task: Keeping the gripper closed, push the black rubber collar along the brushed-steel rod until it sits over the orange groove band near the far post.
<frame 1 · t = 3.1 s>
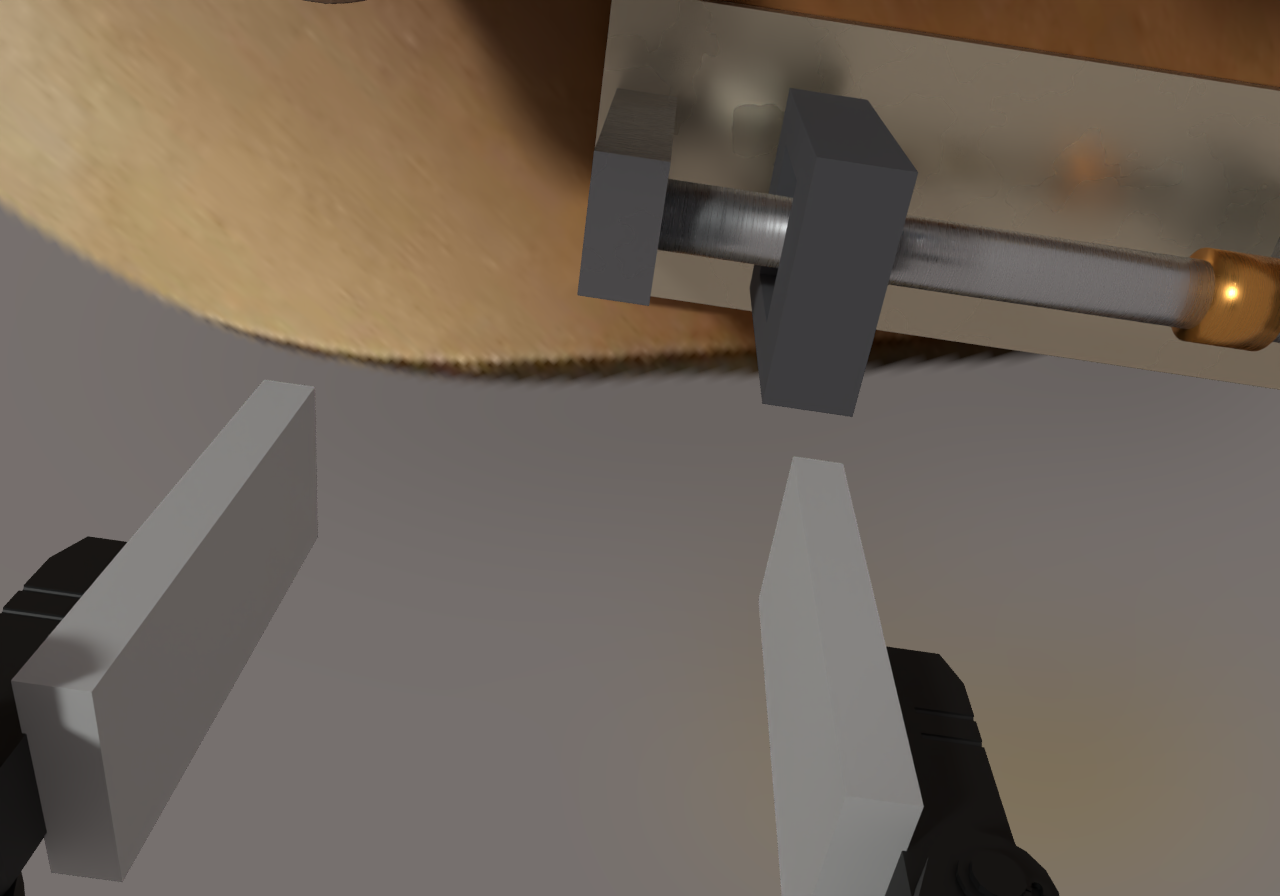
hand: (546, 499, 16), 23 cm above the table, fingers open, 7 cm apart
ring: (818, 240, 30), point 8 cm above the table, slide at 0.0 cm
rail: (966, 195, 37), on the table
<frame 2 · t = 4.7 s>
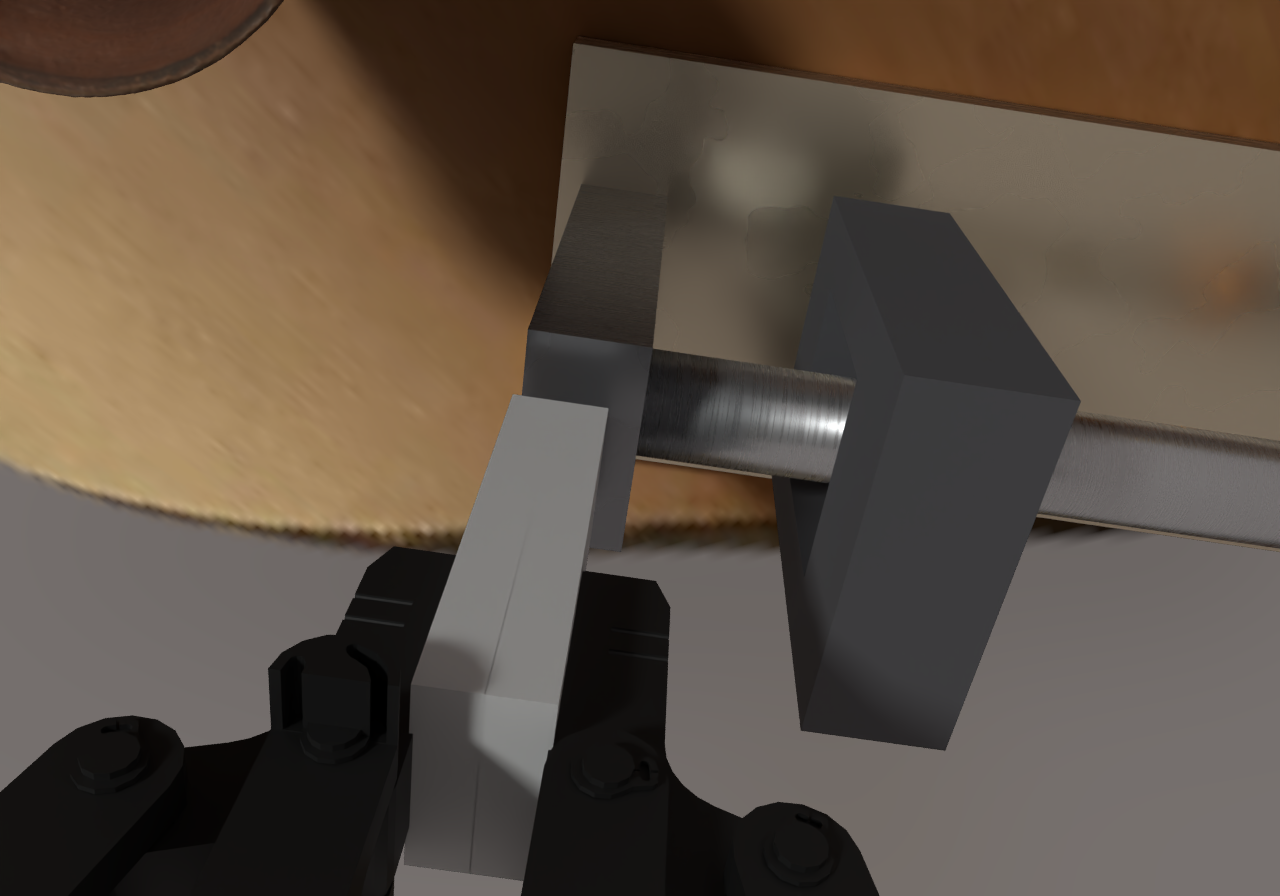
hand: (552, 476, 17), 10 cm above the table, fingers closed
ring: (883, 443, 19), point 8 cm above the table, slide at 0.0 cm
rail: (1073, 326, 26), on the table
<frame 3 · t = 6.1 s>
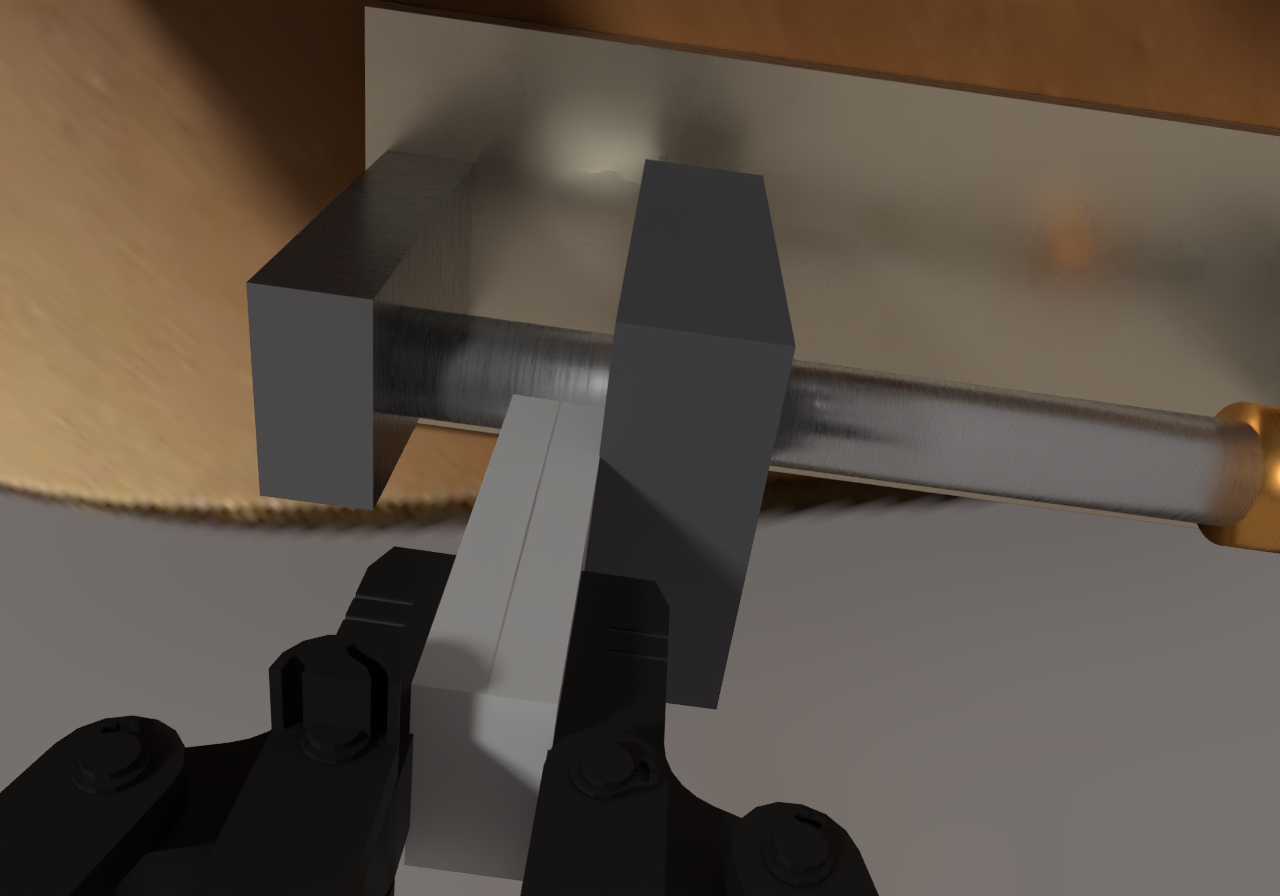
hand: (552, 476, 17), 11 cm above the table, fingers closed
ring: (677, 404, 19), point 8 cm above the table, slide at 0.6 cm, touching gripper
rail: (899, 291, 26), on the table
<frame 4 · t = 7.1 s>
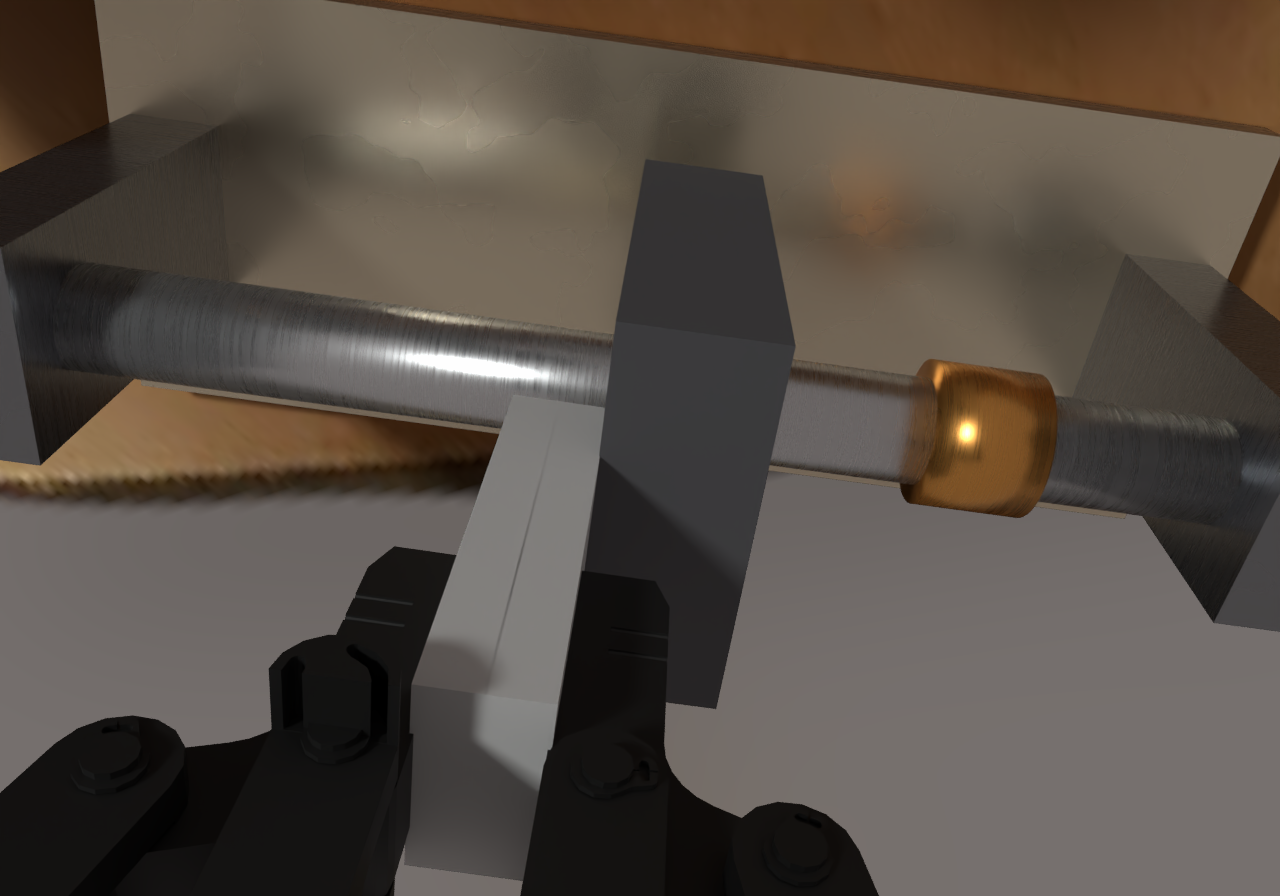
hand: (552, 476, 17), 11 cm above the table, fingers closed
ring: (676, 404, 19), point 8 cm above the table, slide at 6.5 cm, touching gripper
rail: (664, 258, 26), on the table
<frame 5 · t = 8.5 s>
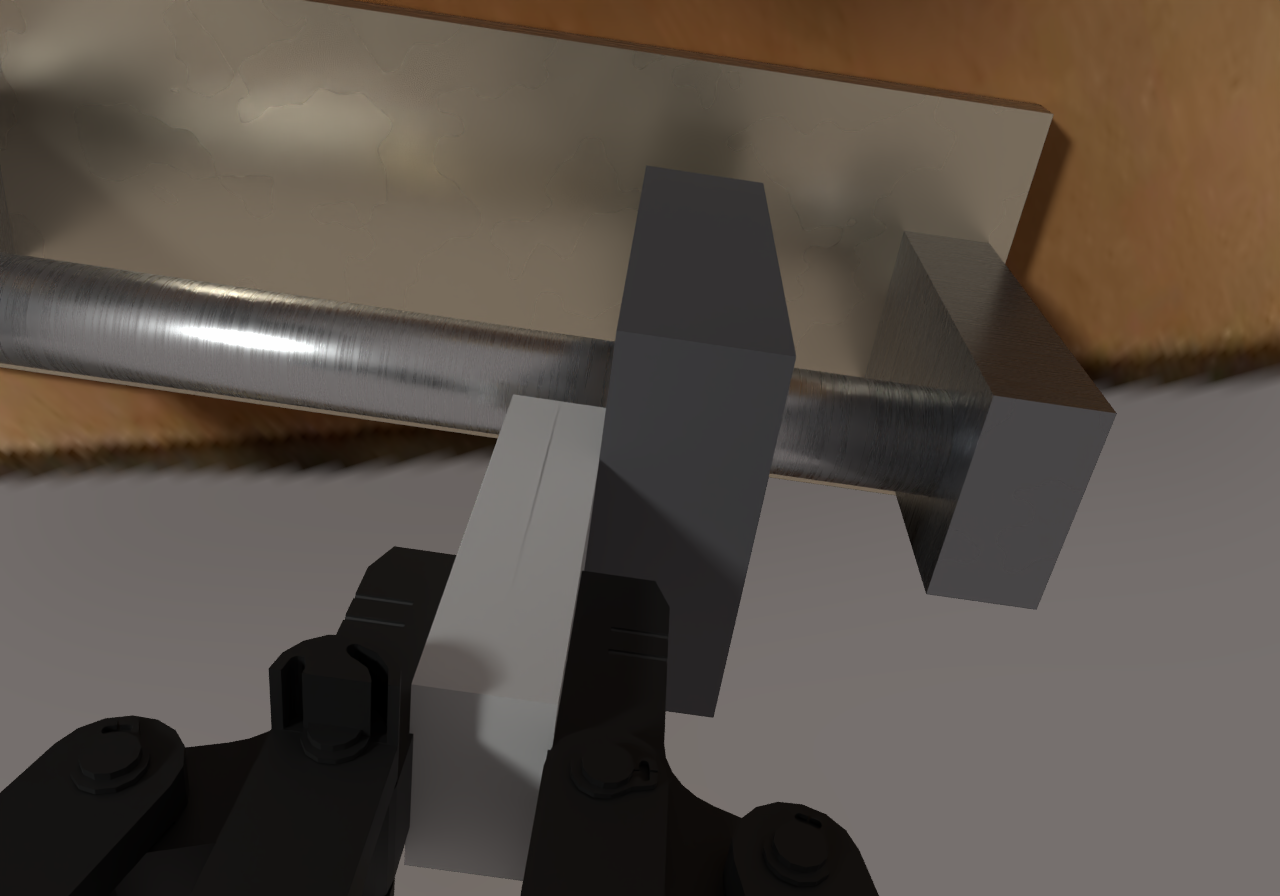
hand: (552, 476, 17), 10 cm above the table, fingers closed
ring: (676, 411, 19), point 8 cm above the table, slide at 11.6 cm, touching gripper
rail: (455, 233, 26), on the table
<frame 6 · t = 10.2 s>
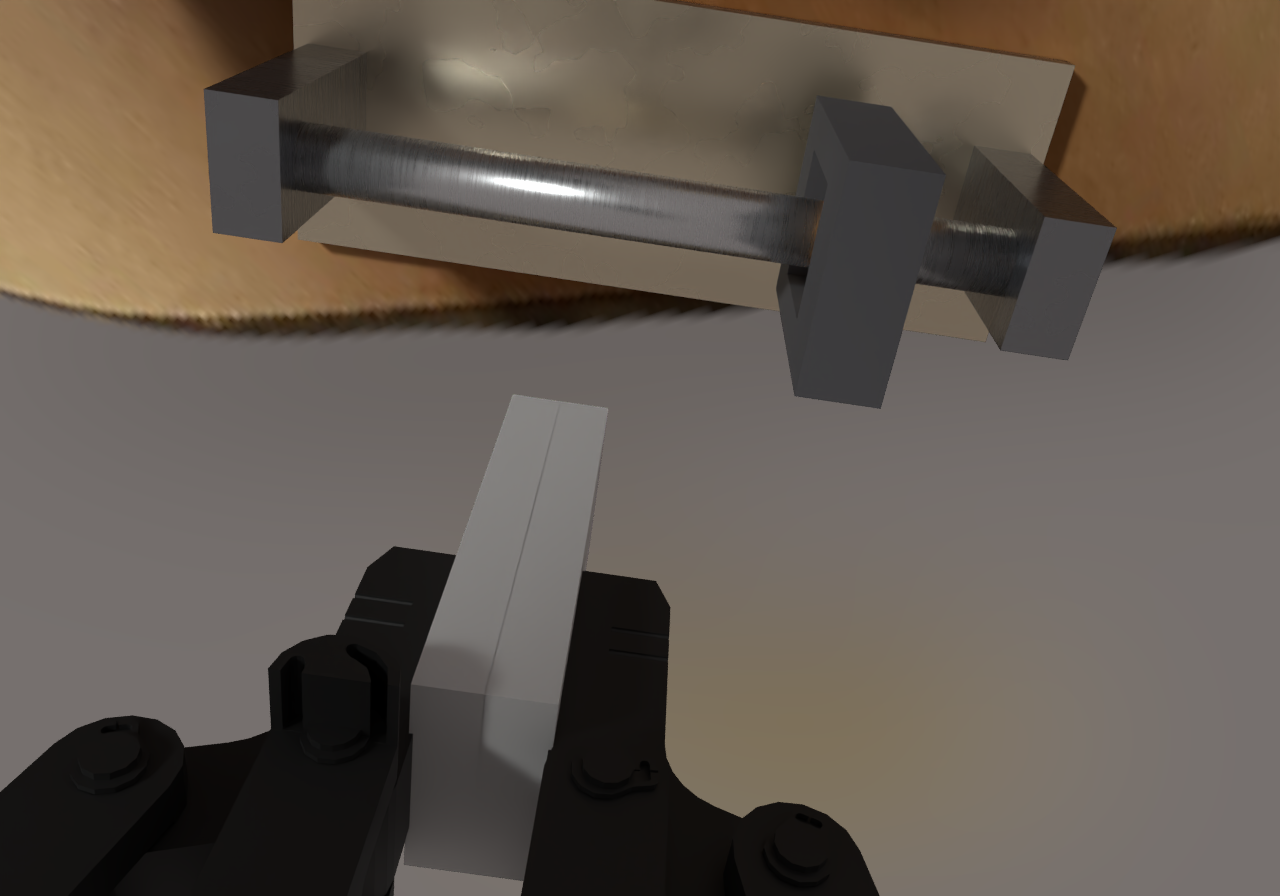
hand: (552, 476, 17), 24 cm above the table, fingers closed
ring: (846, 241, 31), point 8 cm above the table, slide at 11.7 cm
rail: (664, 150, 38), on the table
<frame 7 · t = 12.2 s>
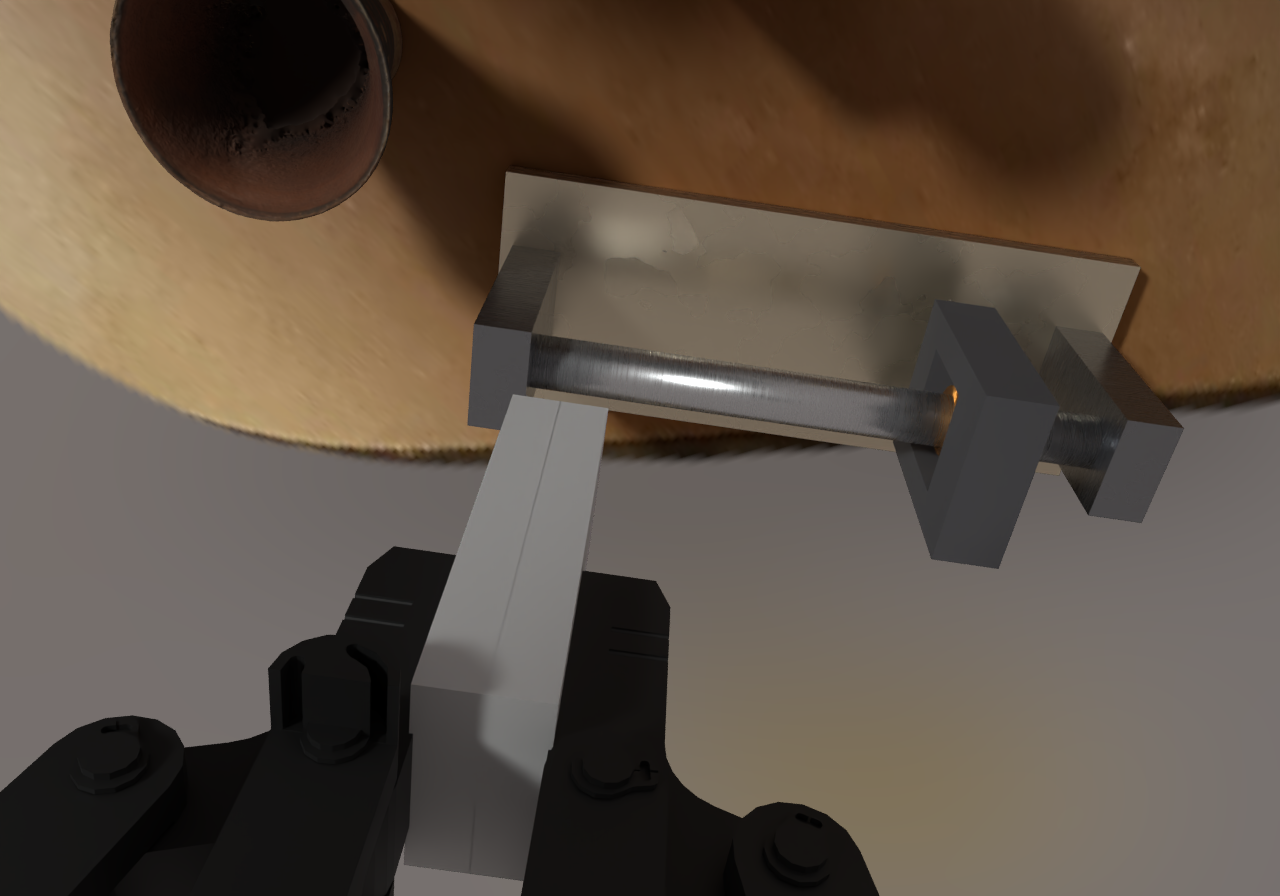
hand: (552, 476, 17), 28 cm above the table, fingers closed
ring: (965, 426, 39), point 8 cm above the table, slide at 11.7 cm
rail: (797, 324, 46), on the table
cup: (341, 36, 41), on the table
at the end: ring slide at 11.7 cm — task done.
